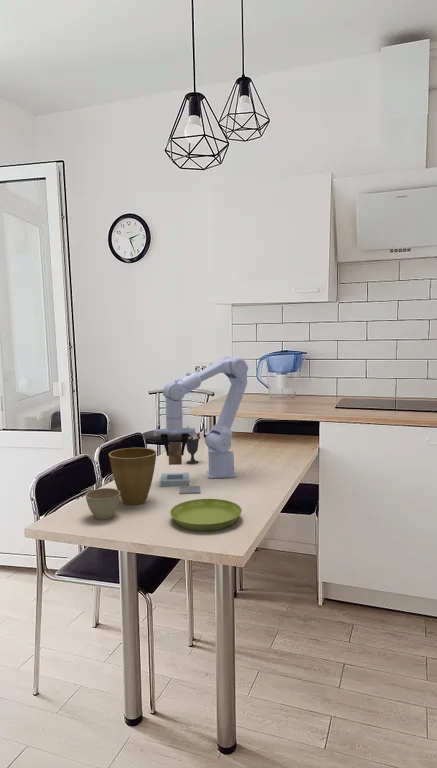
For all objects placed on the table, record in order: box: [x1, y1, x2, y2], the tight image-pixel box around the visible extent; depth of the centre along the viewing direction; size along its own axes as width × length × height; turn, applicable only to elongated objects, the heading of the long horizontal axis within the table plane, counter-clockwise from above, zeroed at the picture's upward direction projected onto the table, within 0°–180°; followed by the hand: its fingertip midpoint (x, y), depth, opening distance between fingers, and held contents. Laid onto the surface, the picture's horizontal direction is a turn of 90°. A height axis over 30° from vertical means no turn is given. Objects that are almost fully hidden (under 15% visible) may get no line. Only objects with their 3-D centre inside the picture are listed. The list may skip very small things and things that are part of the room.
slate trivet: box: [178, 485, 202, 495], centre depth 189 cm, size 7×7×1 cm
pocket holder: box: [160, 472, 190, 487], centre depth 199 cm, size 10×10×2 cm
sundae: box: [185, 426, 201, 465], centre depth 224 cm, size 7×7×15 cm
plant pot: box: [108, 447, 157, 506], centre depth 178 cm, size 15×15×16 cm
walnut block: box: [168, 441, 183, 466], centre depth 198 cm, size 4×4×7 cm
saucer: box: [169, 498, 243, 532], centre depth 162 cm, size 21×21×3 cm
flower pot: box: [85, 487, 121, 521], centre depth 165 cm, size 10×10×7 cm
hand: (175, 455), depth 198 cm, fingers closed on walnut block, 4 cm apart
